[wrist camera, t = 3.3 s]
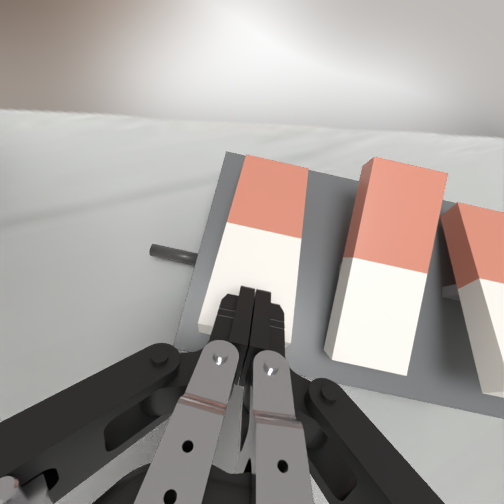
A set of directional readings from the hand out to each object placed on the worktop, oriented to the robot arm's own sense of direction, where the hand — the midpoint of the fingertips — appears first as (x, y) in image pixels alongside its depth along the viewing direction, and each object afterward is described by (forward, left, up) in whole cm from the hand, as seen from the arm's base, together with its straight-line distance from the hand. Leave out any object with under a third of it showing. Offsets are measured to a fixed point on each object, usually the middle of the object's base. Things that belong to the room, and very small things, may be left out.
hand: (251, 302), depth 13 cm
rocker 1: (-3, +4, -3) cm, 6 cm away
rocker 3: (+11, +13, -3) cm, 17 cm away
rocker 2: (+4, +8, -3) cm, 10 cm away
